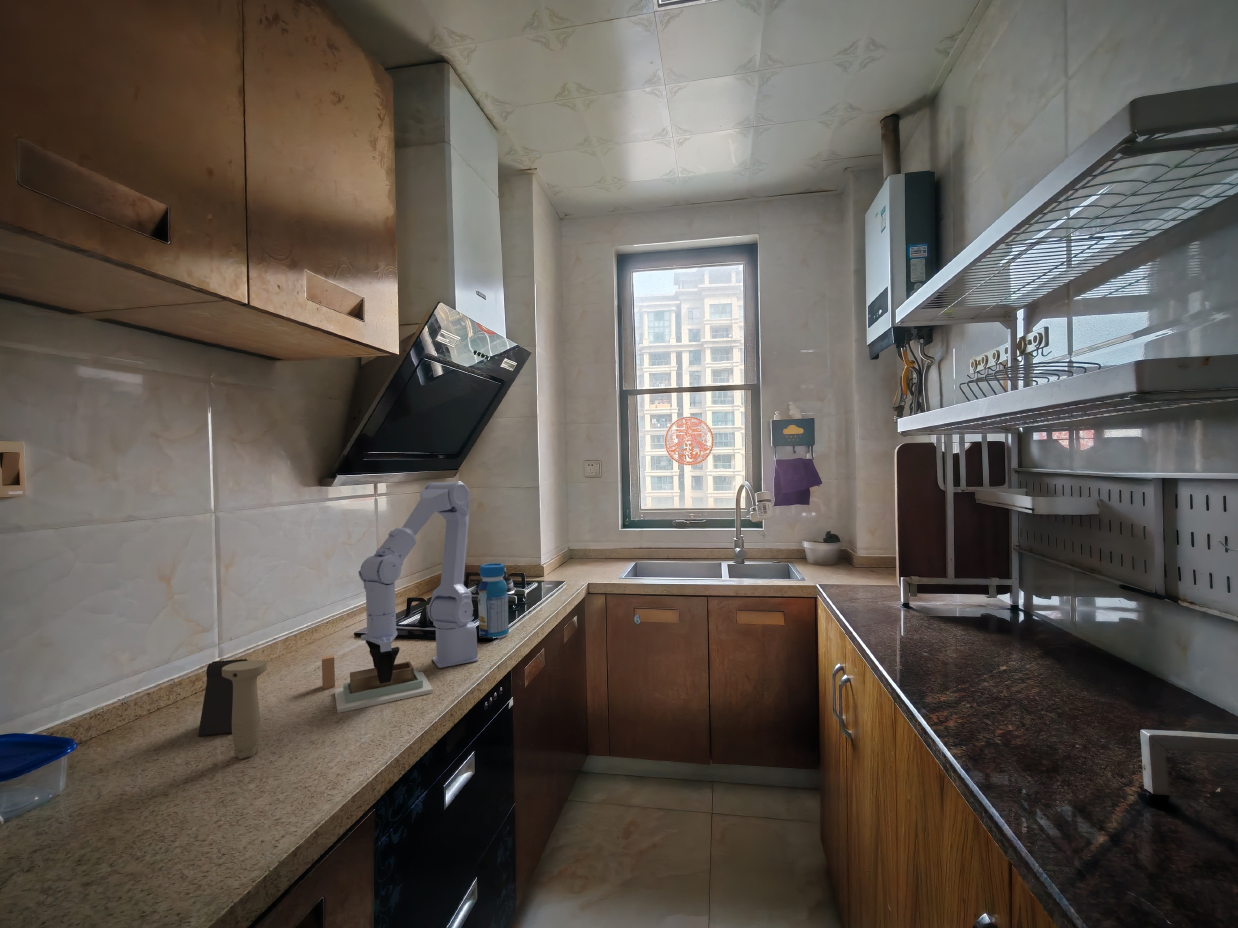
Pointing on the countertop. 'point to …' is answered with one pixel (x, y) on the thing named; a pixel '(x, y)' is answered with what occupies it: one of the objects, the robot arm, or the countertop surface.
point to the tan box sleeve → (370, 679)
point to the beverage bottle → (493, 601)
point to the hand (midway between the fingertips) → (382, 676)
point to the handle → (245, 705)
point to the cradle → (381, 693)
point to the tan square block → (328, 671)
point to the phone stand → (217, 701)
